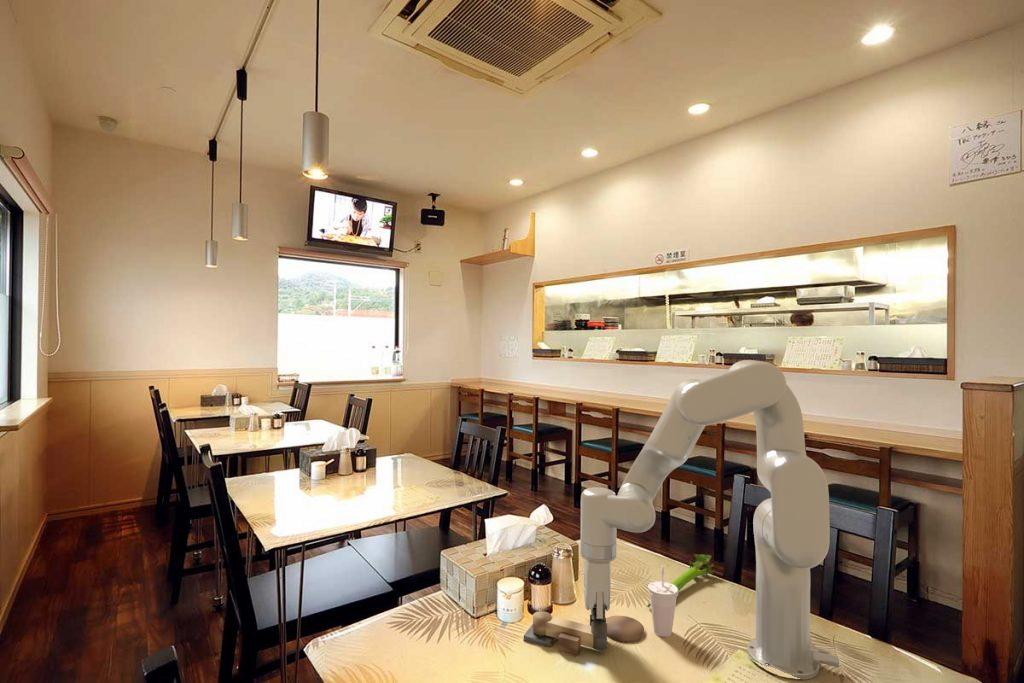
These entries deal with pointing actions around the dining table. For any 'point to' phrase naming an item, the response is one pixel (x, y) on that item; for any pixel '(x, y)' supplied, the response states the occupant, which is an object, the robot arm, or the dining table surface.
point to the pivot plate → (538, 638)
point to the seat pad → (624, 628)
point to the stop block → (569, 644)
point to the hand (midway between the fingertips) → (597, 635)
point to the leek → (692, 572)
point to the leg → (571, 629)
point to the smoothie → (662, 605)
